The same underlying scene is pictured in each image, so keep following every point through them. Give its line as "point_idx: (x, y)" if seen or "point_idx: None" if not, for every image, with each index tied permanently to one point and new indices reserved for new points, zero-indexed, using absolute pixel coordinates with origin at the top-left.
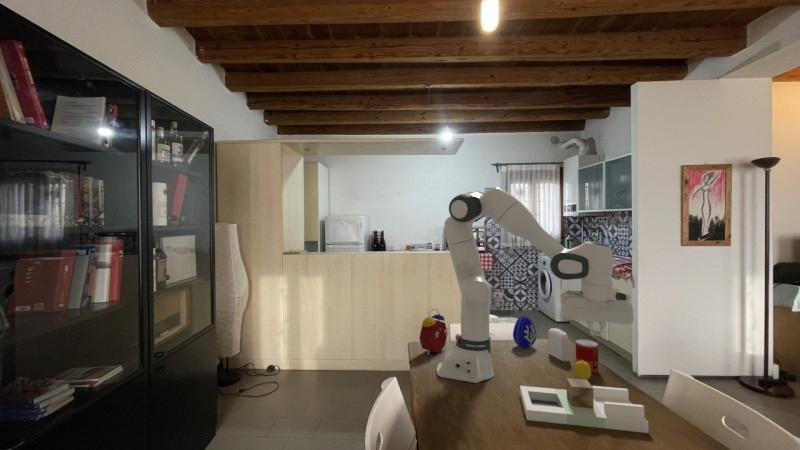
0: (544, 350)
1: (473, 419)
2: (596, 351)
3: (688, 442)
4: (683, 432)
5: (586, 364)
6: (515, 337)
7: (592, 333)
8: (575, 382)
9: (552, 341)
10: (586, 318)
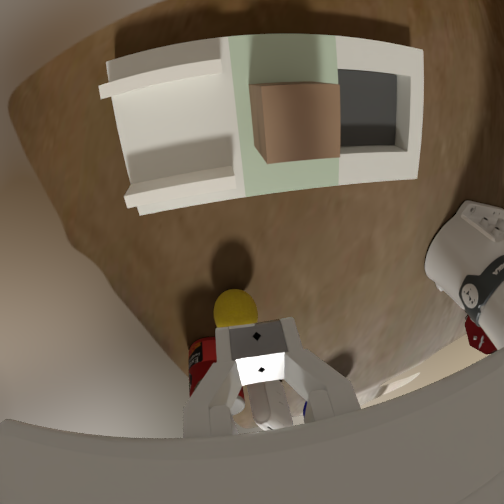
0: (286, 391)
1: (482, 54)
2: (194, 387)
3: (44, 68)
4: (41, 112)
5: (228, 325)
6: None
7: (289, 327)
8: (317, 124)
9: (283, 405)
10: (405, 420)
